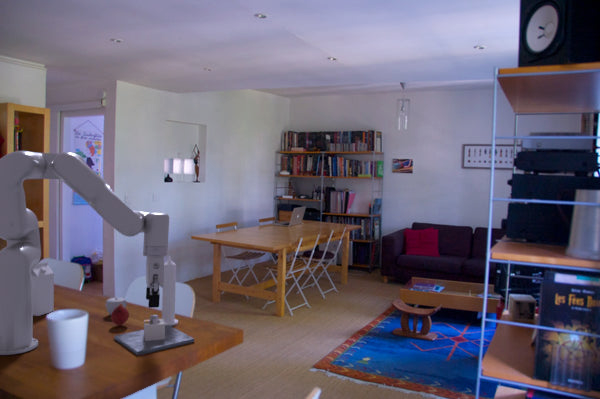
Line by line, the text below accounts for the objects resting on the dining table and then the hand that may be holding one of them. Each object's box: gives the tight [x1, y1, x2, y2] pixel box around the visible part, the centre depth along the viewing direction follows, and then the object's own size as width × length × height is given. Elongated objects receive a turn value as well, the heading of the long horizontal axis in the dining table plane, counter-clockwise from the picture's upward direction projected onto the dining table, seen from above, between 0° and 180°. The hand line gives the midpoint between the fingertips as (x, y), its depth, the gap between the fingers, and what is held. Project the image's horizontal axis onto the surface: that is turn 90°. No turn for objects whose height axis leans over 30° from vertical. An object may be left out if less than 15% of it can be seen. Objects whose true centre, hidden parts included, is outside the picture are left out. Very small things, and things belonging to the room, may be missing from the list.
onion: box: [110, 304, 130, 327], centre depth 167 cm, size 6×6×8 cm
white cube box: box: [143, 318, 165, 341], centre depth 153 cm, size 6×6×6 cm
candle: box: [161, 255, 179, 327], centre depth 171 cm, size 7×7×25 cm
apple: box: [104, 296, 128, 316], centre depth 180 cm, size 8×8×7 cm
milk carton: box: [31, 261, 55, 317], centre depth 179 cm, size 7×7×19 cm
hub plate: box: [113, 314, 195, 356], centre depth 153 cm, size 19×18×8 cm
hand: (152, 303), depth 153 cm, fingers open, 9 cm apart
